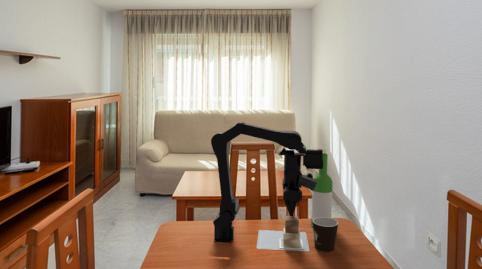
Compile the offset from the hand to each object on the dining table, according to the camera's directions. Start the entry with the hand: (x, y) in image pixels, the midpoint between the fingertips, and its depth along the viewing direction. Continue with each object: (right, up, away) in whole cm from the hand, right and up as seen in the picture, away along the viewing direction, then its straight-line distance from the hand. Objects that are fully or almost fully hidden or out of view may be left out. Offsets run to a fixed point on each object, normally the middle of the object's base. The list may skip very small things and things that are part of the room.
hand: (291, 211), depth 124 cm
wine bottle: (+14, -11, +18) cm, 25 cm away
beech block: (0, -12, +1) cm, 12 cm away
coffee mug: (+12, -13, 0) cm, 17 cm away
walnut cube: (0, -7, 0) cm, 7 cm away
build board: (-2, -12, +4) cm, 13 cm away
